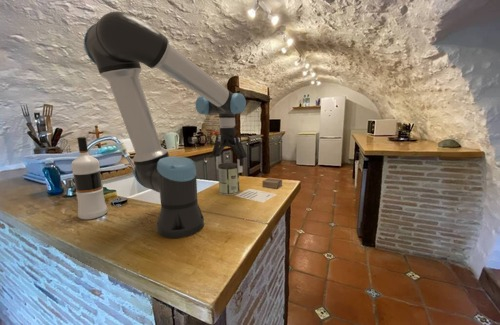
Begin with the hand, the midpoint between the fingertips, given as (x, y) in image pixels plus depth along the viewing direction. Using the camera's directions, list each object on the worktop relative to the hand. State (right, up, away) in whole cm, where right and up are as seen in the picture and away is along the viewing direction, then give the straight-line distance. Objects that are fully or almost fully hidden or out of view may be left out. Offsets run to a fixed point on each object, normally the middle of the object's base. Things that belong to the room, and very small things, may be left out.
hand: (229, 170), depth 108 cm
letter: (+13, -12, -4) cm, 18 cm away
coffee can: (0, -11, +2) cm, 11 cm away
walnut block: (+22, -9, +10) cm, 26 cm away
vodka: (-50, -16, -24) cm, 58 cm away
